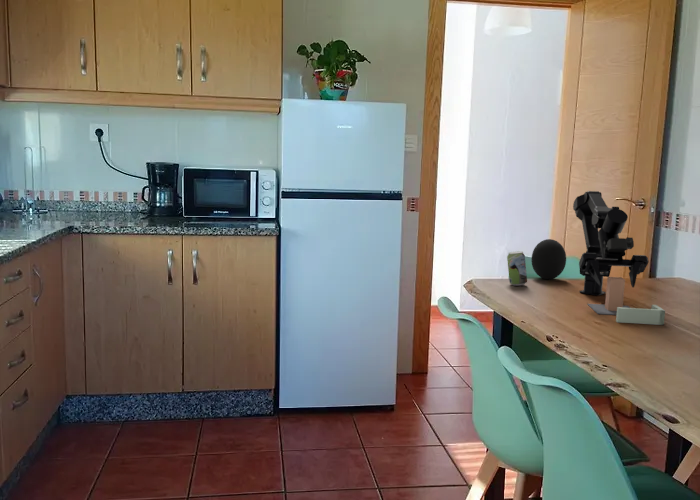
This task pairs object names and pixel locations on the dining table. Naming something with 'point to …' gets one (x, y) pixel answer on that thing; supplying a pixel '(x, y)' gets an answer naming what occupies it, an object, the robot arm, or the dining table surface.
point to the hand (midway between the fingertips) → (617, 285)
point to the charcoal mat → (603, 309)
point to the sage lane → (641, 315)
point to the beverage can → (517, 268)
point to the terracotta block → (614, 293)
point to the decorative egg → (548, 259)
